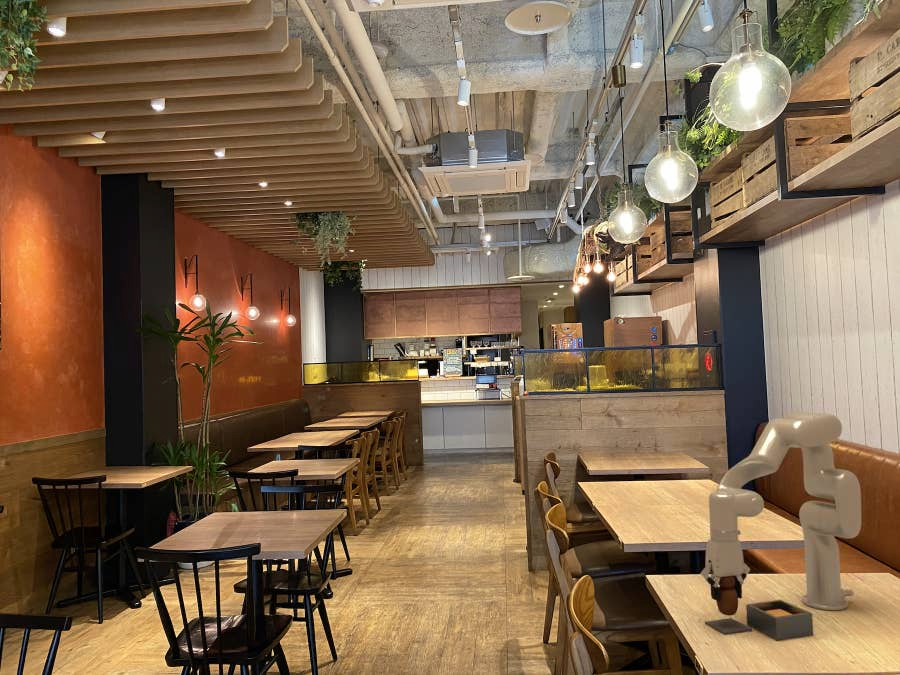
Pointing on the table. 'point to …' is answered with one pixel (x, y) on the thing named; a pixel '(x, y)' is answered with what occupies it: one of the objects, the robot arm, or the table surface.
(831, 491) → the robot arm
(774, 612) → the button
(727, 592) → the wooden figurine
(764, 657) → the table surface
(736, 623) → the mat
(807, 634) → the box
